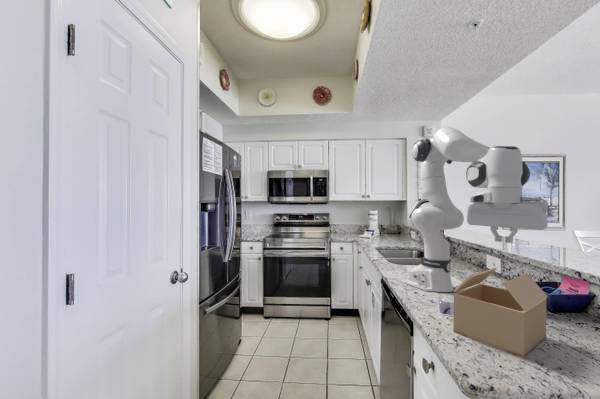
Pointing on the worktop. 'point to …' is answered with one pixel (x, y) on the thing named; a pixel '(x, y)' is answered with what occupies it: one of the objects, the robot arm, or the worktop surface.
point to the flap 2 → (525, 291)
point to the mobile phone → (446, 308)
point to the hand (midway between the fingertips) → (503, 241)
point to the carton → (499, 319)
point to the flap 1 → (475, 279)
